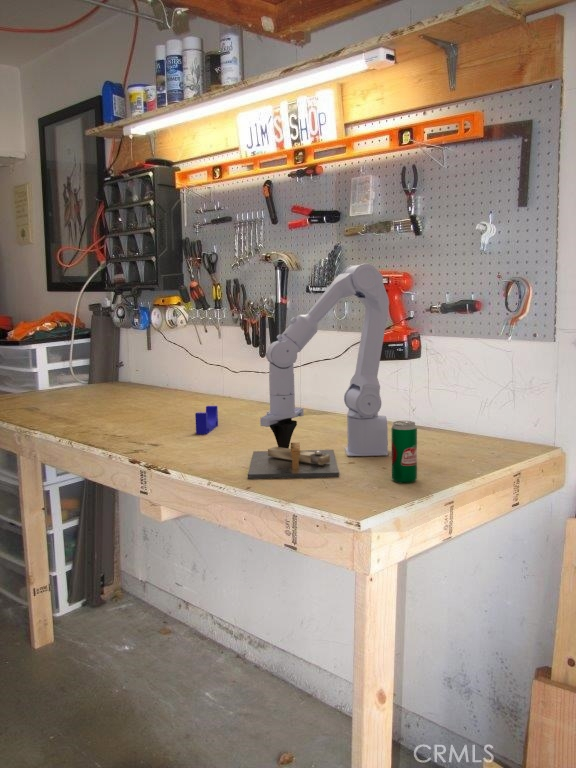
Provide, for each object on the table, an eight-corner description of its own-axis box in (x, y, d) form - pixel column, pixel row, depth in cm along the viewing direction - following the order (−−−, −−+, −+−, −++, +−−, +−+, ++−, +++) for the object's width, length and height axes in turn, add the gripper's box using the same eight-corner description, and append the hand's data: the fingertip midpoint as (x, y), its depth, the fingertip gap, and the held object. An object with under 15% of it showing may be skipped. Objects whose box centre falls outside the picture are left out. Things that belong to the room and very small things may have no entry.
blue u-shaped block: (203, 426, 200) (202, 405, 199) (218, 426, 199) (217, 405, 198) (191, 434, 188) (190, 413, 187) (206, 435, 187) (205, 413, 186)
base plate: (333, 453, 162) (333, 431, 161) (339, 477, 142) (338, 451, 142) (253, 455, 162) (252, 432, 162) (247, 479, 143) (247, 453, 142)
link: (330, 461, 150) (330, 454, 150) (321, 465, 147) (321, 458, 147) (276, 452, 159) (276, 446, 159) (267, 456, 156) (266, 449, 156)
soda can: (404, 485, 135) (404, 426, 133) (386, 480, 139) (386, 422, 138) (422, 481, 138) (422, 422, 136) (404, 475, 142) (404, 419, 140)
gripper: (285, 388, 164) (287, 443, 166) (248, 397, 152) (250, 456, 154) (310, 390, 160) (311, 446, 162) (274, 399, 148) (275, 460, 150)
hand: (283, 451), depth 158 cm, fingers closed
